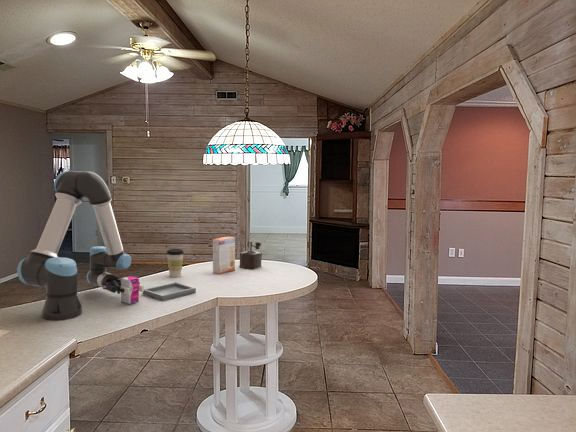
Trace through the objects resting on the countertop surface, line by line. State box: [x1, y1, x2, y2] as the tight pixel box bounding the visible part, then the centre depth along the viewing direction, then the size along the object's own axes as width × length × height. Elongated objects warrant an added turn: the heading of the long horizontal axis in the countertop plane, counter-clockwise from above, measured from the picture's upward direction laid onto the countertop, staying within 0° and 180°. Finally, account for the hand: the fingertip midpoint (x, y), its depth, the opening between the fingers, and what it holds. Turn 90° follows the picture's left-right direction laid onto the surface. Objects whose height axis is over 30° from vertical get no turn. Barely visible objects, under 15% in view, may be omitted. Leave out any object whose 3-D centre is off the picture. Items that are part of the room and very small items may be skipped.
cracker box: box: [212, 235, 236, 275], centre depth 276 cm, size 14×6×21 cm, turn 144°
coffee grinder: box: [239, 240, 263, 270], centre depth 290 cm, size 16×11×18 cm
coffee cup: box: [165, 248, 185, 278], centre depth 263 cm, size 10×10×15 cm
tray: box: [142, 281, 197, 302], centre depth 227 cm, size 20×16×2 cm
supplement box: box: [120, 275, 140, 305], centre depth 209 cm, size 6×6×12 cm
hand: (136, 290), depth 206 cm, fingers closed on supplement box, 6 cm apart
